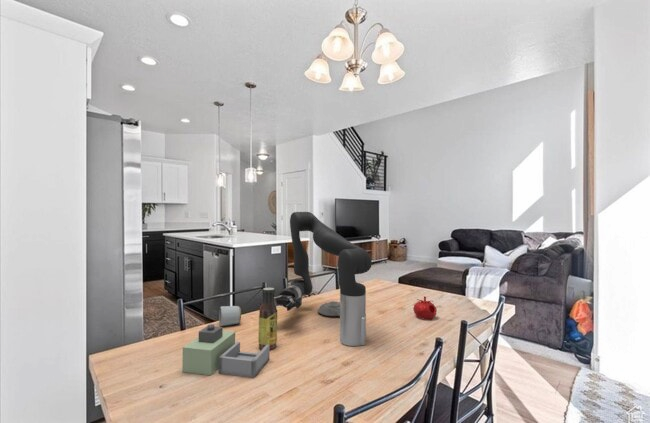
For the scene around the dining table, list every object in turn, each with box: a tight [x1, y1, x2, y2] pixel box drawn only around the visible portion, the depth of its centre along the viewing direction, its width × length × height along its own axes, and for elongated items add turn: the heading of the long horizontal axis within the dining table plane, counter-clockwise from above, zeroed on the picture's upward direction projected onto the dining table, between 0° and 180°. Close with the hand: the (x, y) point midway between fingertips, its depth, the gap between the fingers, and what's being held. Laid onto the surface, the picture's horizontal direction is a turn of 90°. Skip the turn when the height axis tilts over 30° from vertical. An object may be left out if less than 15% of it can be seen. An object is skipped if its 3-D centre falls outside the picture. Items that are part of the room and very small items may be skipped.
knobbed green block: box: [182, 323, 271, 378], centre depth 92 cm, size 22×14×11 cm, turn 79°
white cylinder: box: [218, 305, 242, 327], centre depth 127 cm, size 11×8×8 cm
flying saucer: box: [317, 300, 340, 317], centre depth 141 cm, size 15×15×6 cm
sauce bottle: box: [257, 287, 278, 350], centre depth 104 cm, size 7×6×20 cm
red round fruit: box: [412, 296, 438, 321], centre depth 136 cm, size 10×10×9 cm
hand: (276, 307), depth 113 cm, fingers open, 8 cm apart
